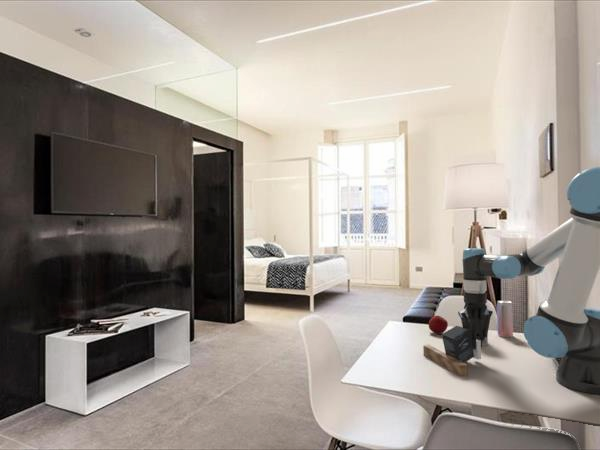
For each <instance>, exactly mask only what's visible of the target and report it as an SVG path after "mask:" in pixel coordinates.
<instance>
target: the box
mask: <svg viewBox="0 0 600 450" xmlns="http://www.w3.org/2000/svg"><path fill="white" fill-rule="evenodd" d="M441 339H442V343H443V346H444V353H446V354H448V355H450V356H452V357H454V358H456V359H457V360H459V361H461V362H463V363H465V364H466V363H467V362H469V360H471V359H474V358H473V357H474V352H473V347H472V343H471V338H470V333H469V330H468V329H466V328H463V326H459V325H455V326H453V327H451V328H450V329H448V330H447V331H446V330H445V332H443V333H441Z"/></svg>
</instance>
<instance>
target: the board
mask: <svg viewBox="0 0 600 450" xmlns="http://www.w3.org/2000/svg"><path fill="white" fill-rule="evenodd" d="M422 347H423V350H422V351H423V356H425V357H427V358H428V359H430V360H432V361H434V362H435V363H437V364H439V365H440V366H442V367H444V368H446V369H447V370H449V371H451V372H452V373H454V374H456V375H458V376H460V377H465V376H468V364H466V362H465V363H463V362H461V361H459V360H457V359H456V358H454V357H452V356H450V355H448V354H446V352H445V351H443V350H440V349H438V348H436V347H434V346H432V345H431V344H424V345H423V346H422Z"/></svg>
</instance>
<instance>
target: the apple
mask: <svg viewBox="0 0 600 450" xmlns="http://www.w3.org/2000/svg"><path fill="white" fill-rule="evenodd" d="M448 326H449V325H448V320H446V319H445V318H444V317H442V316H441V315H434V316H432V317H431V318H430V319H429V321H428V329H429V330H430V331H431V332H432V333H434V334H437V335H440V334H441V335H442V334H443V333H445V332H446V330H447V329H448Z"/></svg>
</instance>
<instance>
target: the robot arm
mask: <svg viewBox="0 0 600 450" xmlns="http://www.w3.org/2000/svg"><path fill="white" fill-rule="evenodd" d="M566 197H567V200H568V202H569V205H570V206H571V207H570V210H569V215H570V219H567V221H565V222H564V223H562V224H561V225H559V226H558V227H557V228H555V229H554V230H552V231H551V232H550V233H548V234H546V235H544V237H542V238H541V239H539V240H538V241H537V242H535V243H534V244H532V245H531V246H529V247H528V248H526V249H525V250H523V251H522V252H521V253H516V254H487V252H486V249H485V248H480V247H479V248H477V247H476V248H474V247H473V248H465V249H463V250H462V260H461V261H462V275H463V276H462V277H463V278H462V280H463V281H462V282H463V283H462V284H463V290H464V292H463V301H464V306H463V310H461V311H458V312H457V314H458V316H459V317H460V320H461V327H463V328H466V329H468V330H469V333H470V338H471V343H472V347H473V352H474V357H473V358H472V359H475V360H481V359H482V349H483V345H482V341H484V338H487V335H488V334H489V328H490V321H491V318H492V315H493V312H494V311H493V310H492V309H488V305H487V302H488V301H487V300H488V297H487V296H488V295H487V290H488V289H487V286H488V285H487V277H490V278H497V279H502V280H505V279H507V280H510V279H511V280H513V279H515V278H517V277H526V276H527V277H531V276H536V275H539V274H541V273H542V272H544V269H545V267H546V266H547V265H549V264H550V263H552V262H554V261H555V260H557V259H559V258H561V260H560V262H559V264H558V265H559V266H558V268H557V271H556V273H555V278H554V280H553V284H552V286H551V289H550V293H549V295H548V299H547V300H544V301H541V302H540V303H539V305H538V308H537V311H536V315H533V316H531V317H529V318H527V319H526V320H525V322H524V324H523V330H522V331H523V336H524V339H525V340H526V341H527V344H528V345H529V347H530V348H531V350H533V351H534V352H535V353H537V354H538V355H540V356H542V357H545V358H547V359H556V358H557V359H558V358H560V361H559V364H558V366H557V369H556V371H555V379H556V381H557V382H558V383H559V384H560V385H562V386H564V387H567V388H569V389H571V390H575V391H579V392H582V393H588V394H593V395H600V309H596V308H592V307H587V303H588V300H589V297H590V295H591V293H592V290H593V288H594V284H595V282H596V279H597V275H598V273H599V271H600V166H597V167H589V168H586V169H585V170H582V171H581V172H579V173H577V175H575V176H574V177H573V178H572V179H571V181H570V182H569V184H568V186H567V189H566ZM467 314H468V315H467ZM467 316H468V317H467ZM488 336H489V335H488Z"/></svg>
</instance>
